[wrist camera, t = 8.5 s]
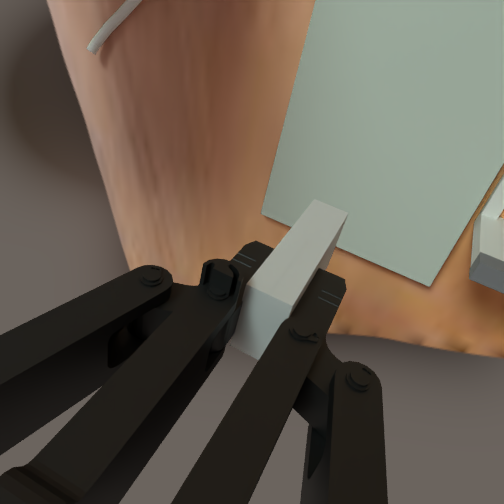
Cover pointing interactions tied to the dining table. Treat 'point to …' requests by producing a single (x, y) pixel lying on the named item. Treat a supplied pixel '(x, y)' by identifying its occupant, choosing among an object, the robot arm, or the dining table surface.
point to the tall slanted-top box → (112, 24)
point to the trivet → (394, 126)
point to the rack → (489, 242)
